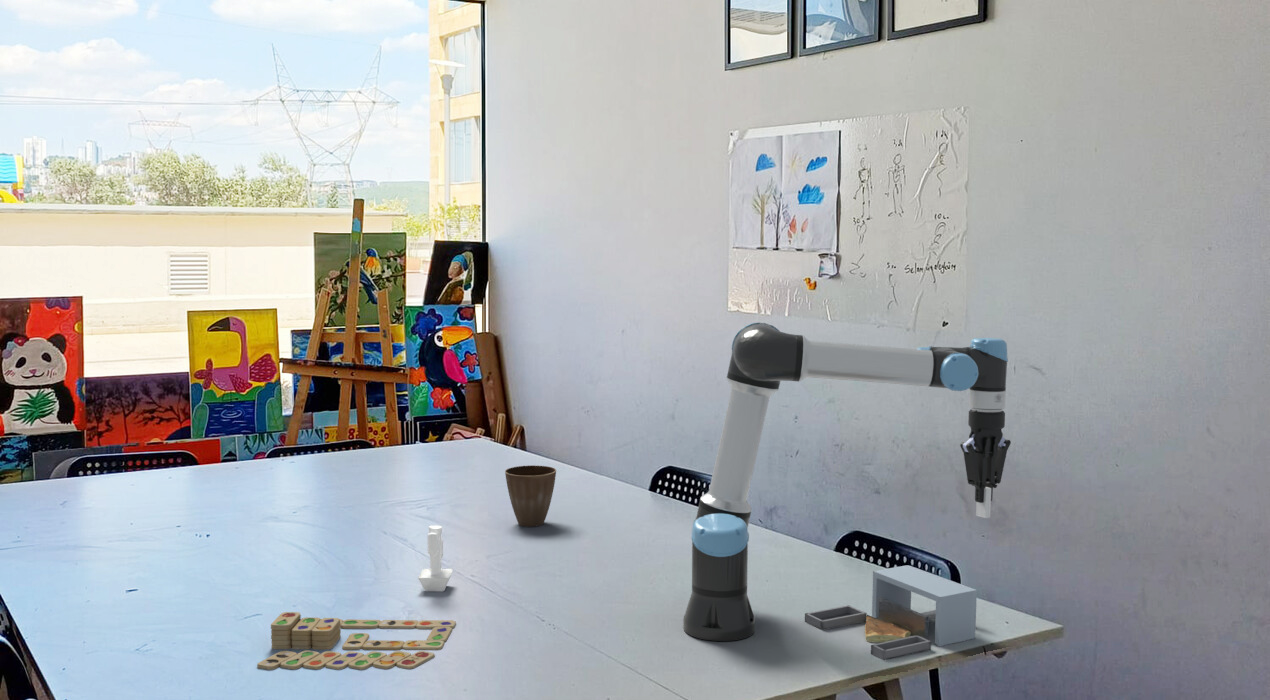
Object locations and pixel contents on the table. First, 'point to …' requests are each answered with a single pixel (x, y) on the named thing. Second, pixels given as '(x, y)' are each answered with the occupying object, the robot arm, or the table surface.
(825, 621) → the tray
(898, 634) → the pizza slice
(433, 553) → the figurine
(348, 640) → the pile of dominoes
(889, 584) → the tunnel
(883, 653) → the tray
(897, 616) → the plunger
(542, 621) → the table surface
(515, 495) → the plant pot
